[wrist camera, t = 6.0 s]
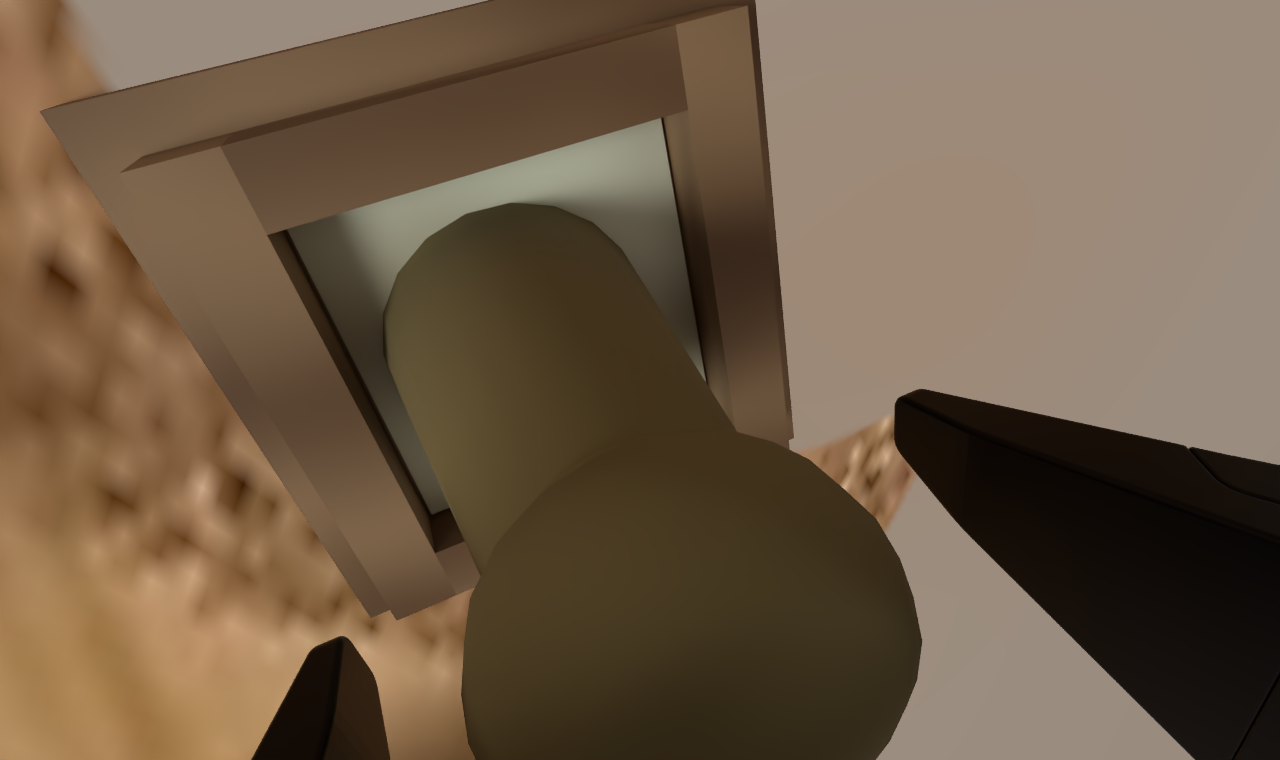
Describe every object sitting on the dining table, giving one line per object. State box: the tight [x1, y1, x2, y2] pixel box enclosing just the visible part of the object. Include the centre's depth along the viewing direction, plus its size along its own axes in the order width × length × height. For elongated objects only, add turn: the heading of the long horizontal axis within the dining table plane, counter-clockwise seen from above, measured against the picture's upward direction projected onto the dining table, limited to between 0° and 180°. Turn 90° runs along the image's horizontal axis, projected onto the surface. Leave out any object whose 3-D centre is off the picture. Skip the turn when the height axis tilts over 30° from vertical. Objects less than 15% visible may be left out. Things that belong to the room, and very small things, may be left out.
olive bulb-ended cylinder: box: [383, 203, 922, 760], centre depth 11 cm, size 6×6×11 cm
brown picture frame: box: [40, 0, 794, 620], centre depth 15 cm, size 13×13×2 cm
